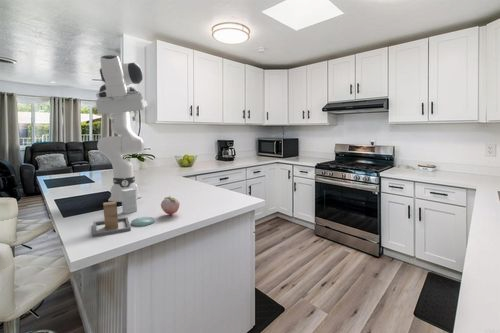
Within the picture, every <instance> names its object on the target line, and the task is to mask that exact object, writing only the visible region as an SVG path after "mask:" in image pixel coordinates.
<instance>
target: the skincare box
mask: <svg viewBox="0 0 500 333" xmlns="http://www.w3.org/2000/svg"><path fill="white" fill-rule="evenodd" d="M121 199H122V202H121V208H122V213H124V214H130V213H134V212H137V211H138V207H137V206H138V205H137V204H138V203H137V199H136V190H135V189H133V188H130V189H125V190H121Z"/></svg>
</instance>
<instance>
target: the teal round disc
mask: <svg viewBox="0 0 500 333" xmlns="http://www.w3.org/2000/svg"><path fill="white" fill-rule="evenodd" d="M155 221H156V220H155V217H153V216H143V217H137V218H134V219H132V220H131V221H130V222H131V226H133V227H146V226H149V225H152V224H154V223H155Z"/></svg>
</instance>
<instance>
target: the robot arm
mask: <svg viewBox="0 0 500 333" xmlns="http://www.w3.org/2000/svg"><path fill="white" fill-rule="evenodd" d="M100 66H101V68H100V69H99V74H100V77H101V81H102V82H103V83H104V84H102V85H101V86H100V87H99V90H98V92H97V93H96V94H95V96H96V98H97V99H96V101H95V104H96V106H95V107H96V112H97V113H98V114H99V115H107V116H106V117H107V118H108V119H109V120H110V129H111V130H112V132H113V133H115V135H117V136H110V135H109V136H104V137H100V139H99V140H98V141H97V144H96V146H97V150H98V151H99V153H100V154H102V155H104V156H105V157H106V158H107V159H108V160H109V161H110V163H111V165H112V166H111V167H112V171H113V172H112V173H113V178H112V181H113V185H112V186H111V188H110V193H111V194H110V197H109V198H108V199H107V200H108V202H115V201H116V203H122V199H121V190H125V189H130V188H133V189H135V190H136V200H137V199H141V198H143V197H142V195H141V194H140V193H139V187H138V186H139V185H138V184H137V183H136V182H135V181H136V179H135V178H136V177H135V175H134V165H133V163H132V162H131V161H130V160H128V159H124V158H123V157H122V155H136V154H140V153H142V152H143V151H144V150H145V147H146V146H145V140H143V138H142V137H140V136H138V135H137V134H136V133H135V132H134V131H133V129H132V123H131V119H132V121H137V118H136V117H137V114H138V112H139V111H143V110H144V108H145V107H144V103H143V101H142V100H143V93H142V92H141V91H139V90H137V89H136V87H133V86H129V85H133V84H134V85H136V84H137V85H139V84H140V83H142V81H143V76H144V74H143V71H142V68H141V66H140V65H139V64H138V63H136V62H128V63H121V60H120V57H119V56H118V55H116V54H115V55H114V54H110V55H102V56H100ZM130 112H133V114H134V115H133V116H132V117H131V115H130Z"/></svg>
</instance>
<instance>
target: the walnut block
mask: <svg viewBox="0 0 500 333" xmlns="http://www.w3.org/2000/svg"><path fill="white" fill-rule="evenodd" d="M102 205H103V217H104V221H105V224H104V228H105V231H110V230H116V229H119V222H118V218H119V217H118V216H119V215H118V206H117V202H116V201H115V202H114V201H108V202H107V201H106V202H103V203H102Z"/></svg>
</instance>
